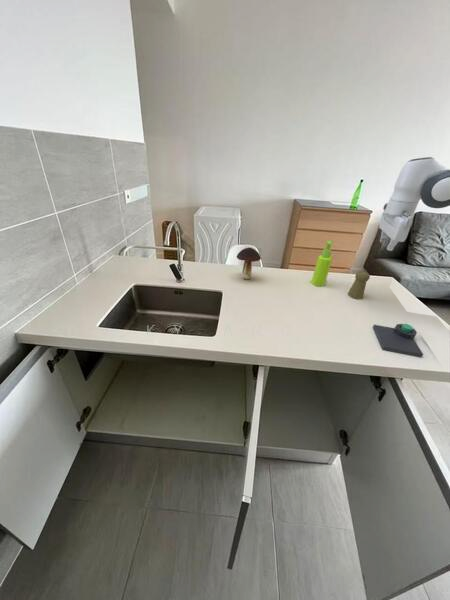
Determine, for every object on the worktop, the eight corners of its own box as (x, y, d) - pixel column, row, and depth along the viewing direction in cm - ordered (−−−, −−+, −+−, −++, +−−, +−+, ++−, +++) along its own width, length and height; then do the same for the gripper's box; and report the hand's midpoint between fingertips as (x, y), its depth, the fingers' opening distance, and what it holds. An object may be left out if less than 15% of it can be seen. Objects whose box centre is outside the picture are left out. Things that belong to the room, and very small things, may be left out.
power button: (409, 328, 82) (411, 324, 81) (412, 333, 80) (414, 330, 79) (399, 326, 83) (401, 322, 82) (402, 331, 80) (404, 328, 79)
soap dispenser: (326, 282, 115) (338, 240, 105) (323, 287, 110) (335, 245, 100) (313, 278, 118) (324, 238, 107) (310, 284, 113) (321, 242, 102)
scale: (408, 332, 85) (412, 325, 83) (424, 358, 74) (429, 351, 72) (371, 326, 87) (374, 319, 85) (382, 350, 76) (385, 342, 74)
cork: (349, 297, 103) (357, 274, 98) (346, 291, 108) (354, 268, 103) (364, 300, 102) (373, 276, 97) (360, 293, 107) (369, 270, 102)
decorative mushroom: (230, 278, 113) (232, 247, 105) (243, 271, 121) (246, 242, 113) (250, 286, 108) (254, 254, 100) (262, 278, 115) (266, 247, 108)
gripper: (422, 215, 78) (403, 256, 86) (400, 205, 95) (387, 239, 102) (400, 214, 80) (384, 254, 87) (383, 203, 97) (370, 238, 104)
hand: (385, 246), depth 95 cm, fingers open, 8 cm apart
